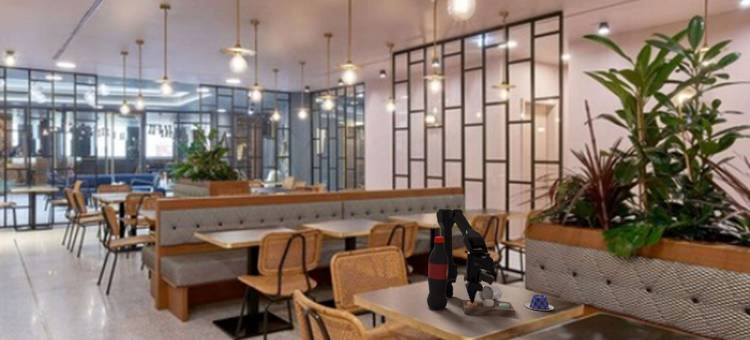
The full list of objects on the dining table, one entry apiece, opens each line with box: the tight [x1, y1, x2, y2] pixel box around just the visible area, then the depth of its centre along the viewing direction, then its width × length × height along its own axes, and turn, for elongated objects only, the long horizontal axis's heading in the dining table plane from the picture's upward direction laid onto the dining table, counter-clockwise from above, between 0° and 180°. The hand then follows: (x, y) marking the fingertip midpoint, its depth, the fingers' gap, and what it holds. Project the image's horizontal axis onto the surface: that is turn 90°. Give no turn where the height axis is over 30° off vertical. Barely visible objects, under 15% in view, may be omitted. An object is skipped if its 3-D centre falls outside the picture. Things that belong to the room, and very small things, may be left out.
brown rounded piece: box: [467, 301, 478, 306], centre depth 221 cm, size 4×4×3 cm
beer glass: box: [478, 284, 503, 301], centre depth 232 cm, size 7×7×15 cm
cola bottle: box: [426, 235, 449, 311], centre depth 222 cm, size 8×8×30 cm
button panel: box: [461, 299, 516, 318], centre depth 221 cm, size 20×12×2 cm, turn 85°
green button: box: [498, 303, 510, 308], centre depth 220 cm, size 4×4×3 cm
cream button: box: [482, 299, 495, 307], centre depth 220 cm, size 4×4×3 cm
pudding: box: [524, 294, 555, 312], centre depth 228 cm, size 12×12×5 cm
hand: (472, 302), depth 221 cm, fingers closed, pressing on brown rounded piece
